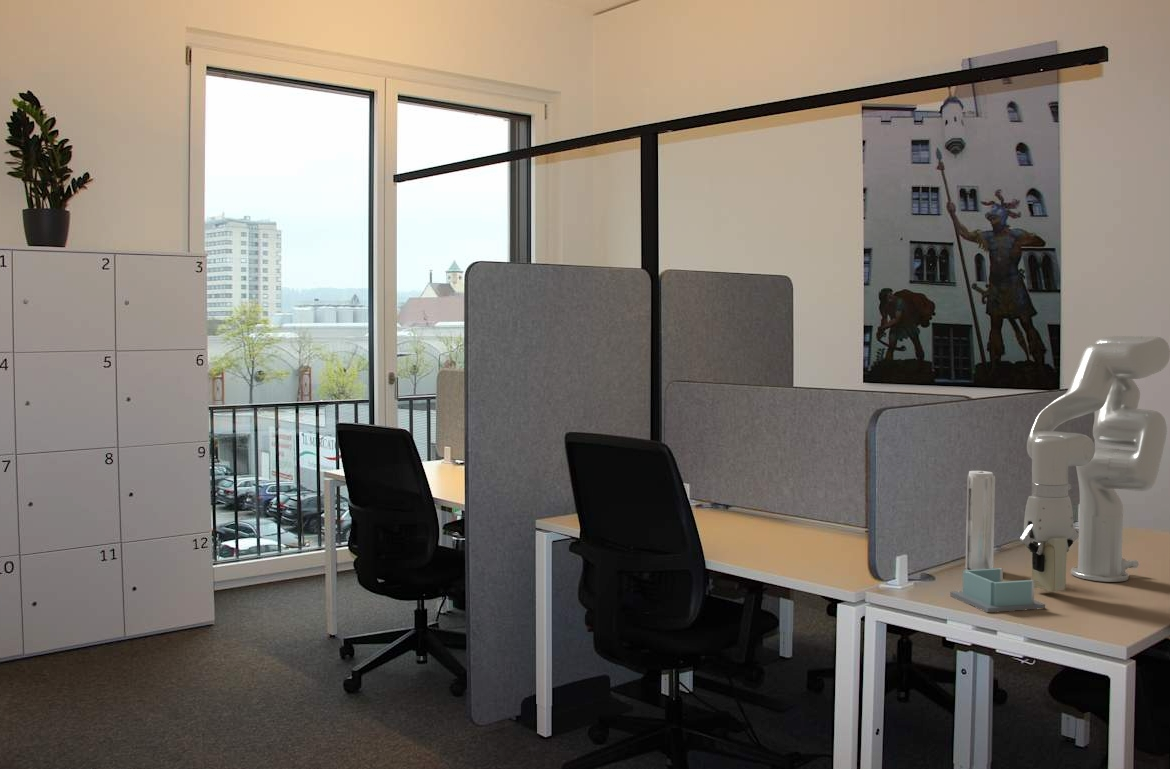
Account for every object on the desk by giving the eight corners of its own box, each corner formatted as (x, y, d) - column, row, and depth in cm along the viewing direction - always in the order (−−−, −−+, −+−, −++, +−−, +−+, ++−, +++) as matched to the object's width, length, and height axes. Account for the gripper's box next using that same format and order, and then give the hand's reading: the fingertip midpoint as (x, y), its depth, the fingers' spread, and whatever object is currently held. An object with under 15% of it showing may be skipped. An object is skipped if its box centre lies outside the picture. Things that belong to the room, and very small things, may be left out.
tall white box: (995, 574, 247) (997, 473, 246) (967, 572, 249) (969, 473, 247) (990, 567, 254) (992, 470, 252) (963, 566, 255) (965, 469, 254)
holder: (1004, 592, 230) (1005, 566, 230) (1045, 608, 217) (1045, 581, 216) (950, 595, 227) (950, 569, 227) (987, 612, 214) (988, 585, 213)
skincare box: (1030, 585, 231) (1030, 533, 230) (1044, 583, 232) (1045, 531, 231) (1053, 592, 225) (1053, 539, 224) (1067, 589, 227) (1067, 537, 226)
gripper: (1070, 485, 232) (1070, 562, 234) (1006, 490, 229) (1005, 568, 230) (1093, 491, 225) (1092, 570, 227) (1027, 496, 221) (1027, 576, 223)
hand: (1049, 568), depth 228 cm, fingers closed on skincare box, 4 cm apart
